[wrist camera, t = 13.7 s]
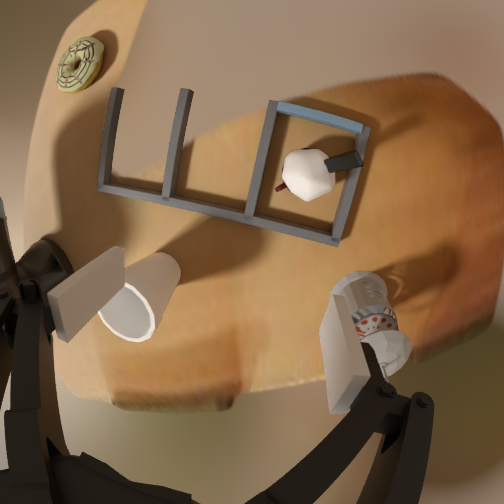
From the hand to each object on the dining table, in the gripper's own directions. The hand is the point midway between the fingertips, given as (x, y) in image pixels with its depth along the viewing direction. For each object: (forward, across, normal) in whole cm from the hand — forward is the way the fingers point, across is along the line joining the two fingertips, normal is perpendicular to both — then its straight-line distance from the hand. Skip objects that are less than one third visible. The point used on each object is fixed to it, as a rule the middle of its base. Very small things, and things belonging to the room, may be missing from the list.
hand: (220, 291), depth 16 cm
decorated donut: (+24, -34, +21) cm, 47 cm away
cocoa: (+23, +6, +7) cm, 25 cm away
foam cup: (+24, -13, -13) cm, 30 cm away
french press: (+23, +19, -11) cm, 32 cm away
